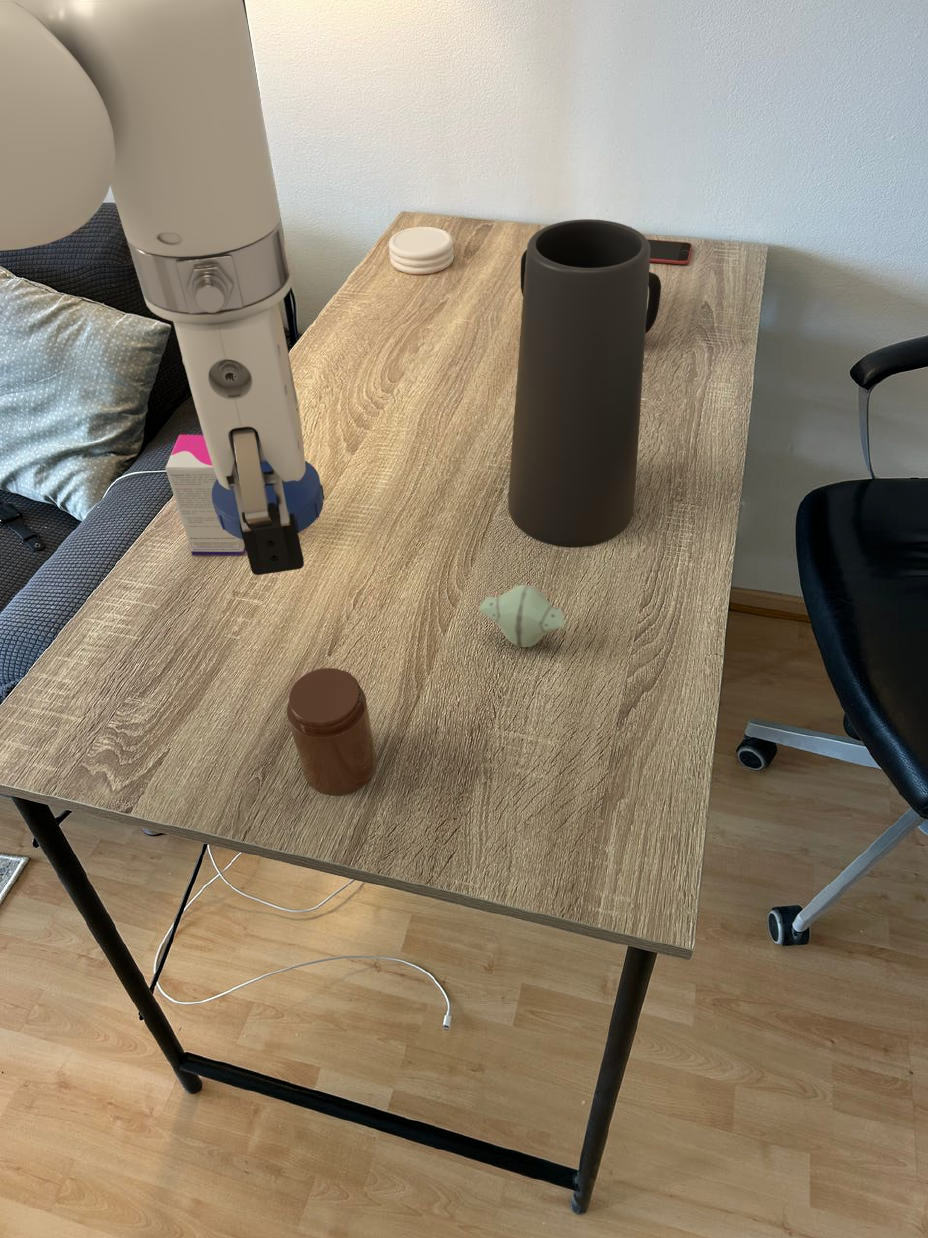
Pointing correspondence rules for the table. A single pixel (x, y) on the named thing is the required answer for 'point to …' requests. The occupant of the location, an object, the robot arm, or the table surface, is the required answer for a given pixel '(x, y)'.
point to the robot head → (523, 615)
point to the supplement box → (198, 498)
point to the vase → (579, 382)
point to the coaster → (421, 250)
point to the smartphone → (669, 251)
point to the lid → (299, 495)
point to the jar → (332, 731)
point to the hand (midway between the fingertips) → (275, 529)
